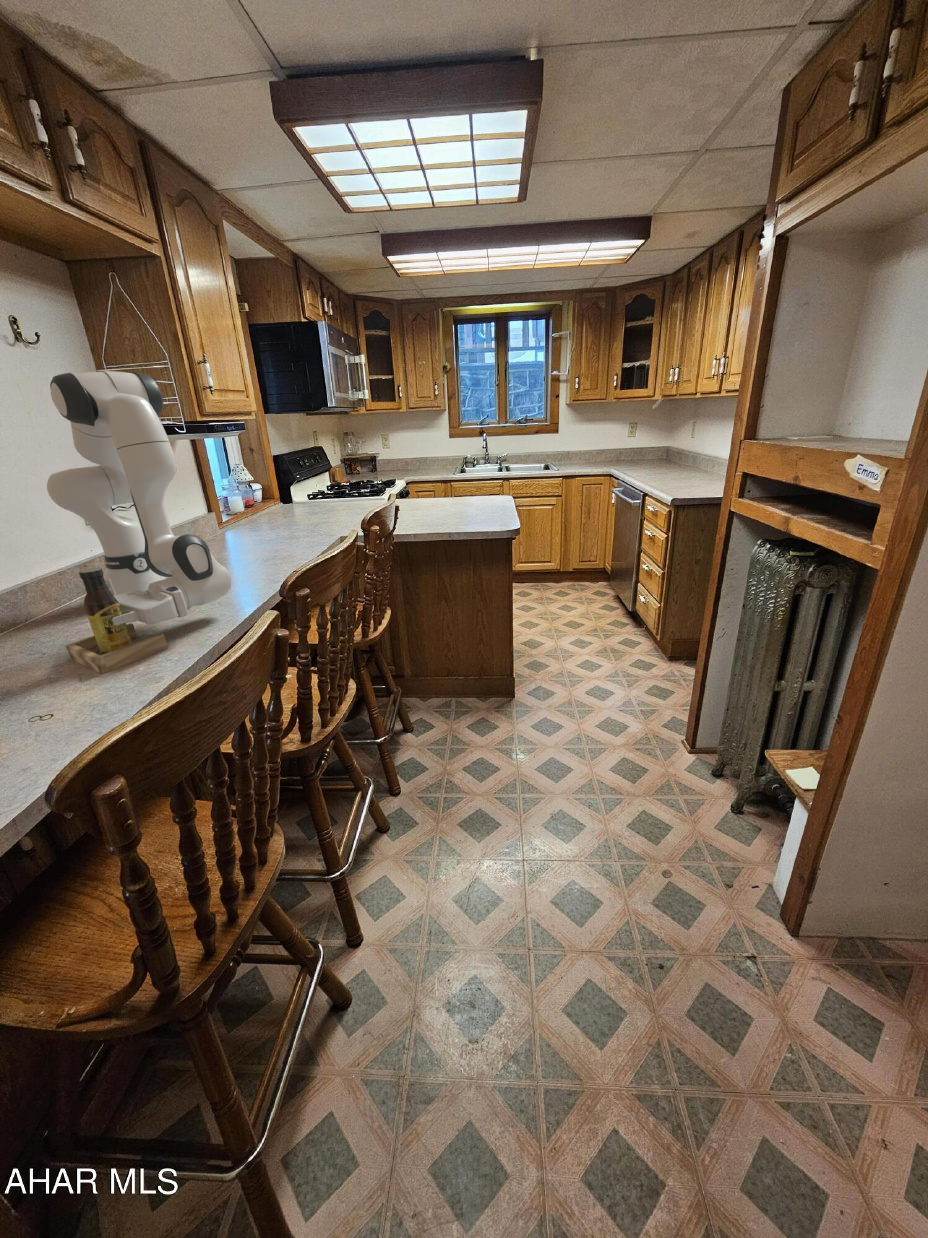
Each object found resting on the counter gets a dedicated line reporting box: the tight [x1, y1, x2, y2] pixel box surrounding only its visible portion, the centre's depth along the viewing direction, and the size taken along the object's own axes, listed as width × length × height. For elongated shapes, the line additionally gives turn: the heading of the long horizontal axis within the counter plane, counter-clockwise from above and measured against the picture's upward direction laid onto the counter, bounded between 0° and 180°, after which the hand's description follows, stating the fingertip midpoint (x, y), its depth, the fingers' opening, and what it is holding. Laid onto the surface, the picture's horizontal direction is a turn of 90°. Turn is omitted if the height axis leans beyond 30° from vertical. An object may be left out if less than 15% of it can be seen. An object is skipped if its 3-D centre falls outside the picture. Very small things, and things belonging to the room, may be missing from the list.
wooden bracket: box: [65, 622, 169, 675], centre depth 110 cm, size 16×14×4 cm
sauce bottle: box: [78, 567, 133, 655], centre depth 107 cm, size 7×6×20 cm
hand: (102, 618), depth 107 cm, fingers open, 8 cm apart
